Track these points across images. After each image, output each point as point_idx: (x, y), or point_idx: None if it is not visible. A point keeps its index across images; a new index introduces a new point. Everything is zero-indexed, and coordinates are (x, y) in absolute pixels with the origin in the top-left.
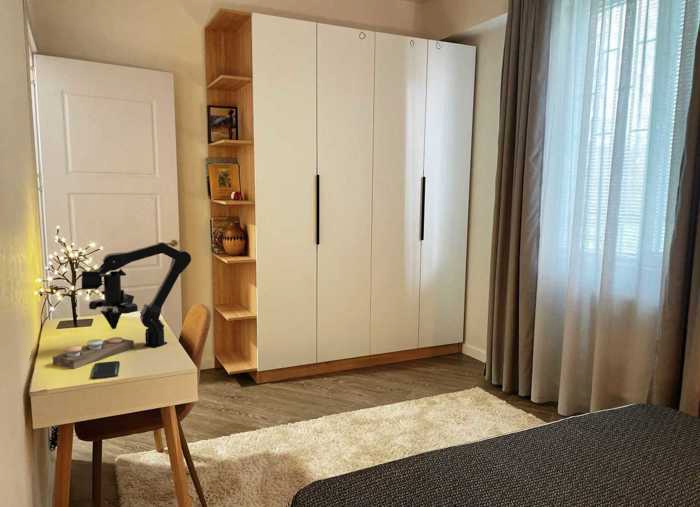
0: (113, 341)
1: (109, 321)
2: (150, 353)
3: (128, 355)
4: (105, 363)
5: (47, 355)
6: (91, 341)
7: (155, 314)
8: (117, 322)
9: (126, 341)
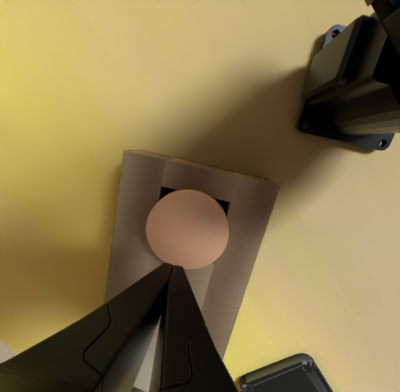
0: (202, 265)
1: (131, 384)
2: (383, 235)
3: (296, 274)
4: (272, 381)
5: (3, 317)
6: (141, 369)
7: None
8: (197, 310)
9: (248, 210)
